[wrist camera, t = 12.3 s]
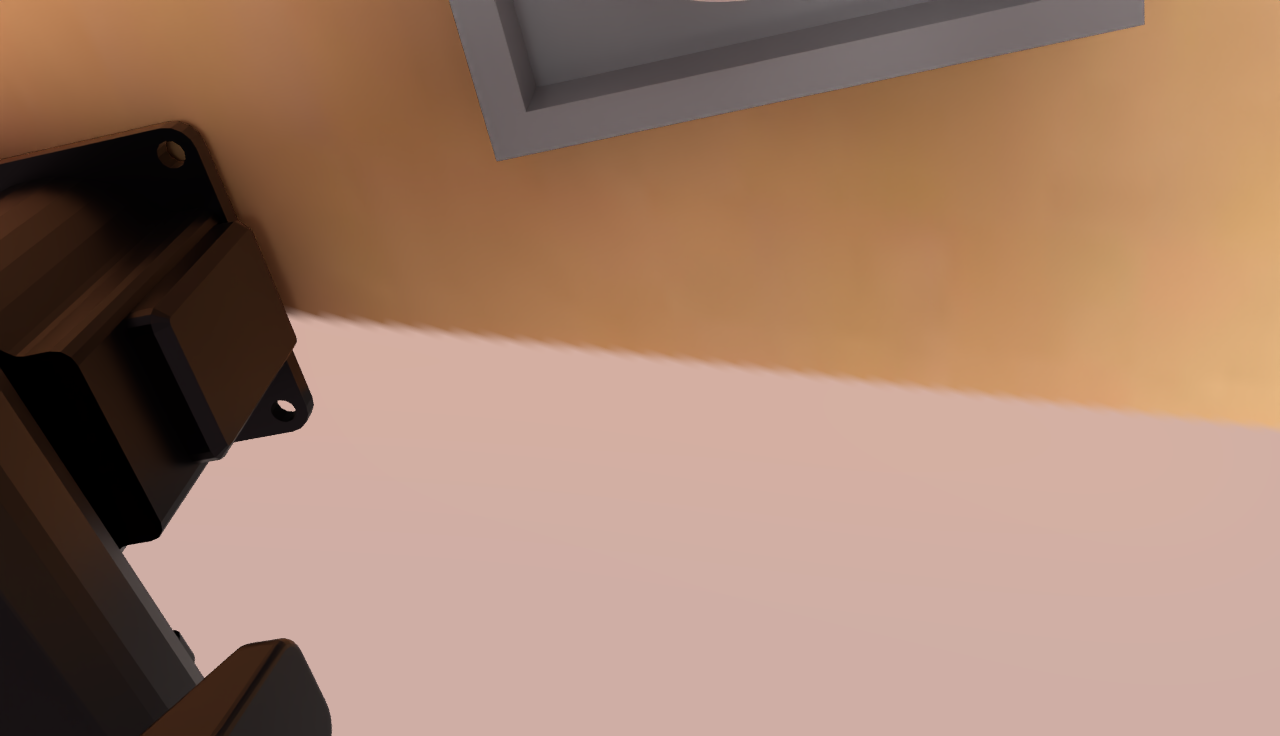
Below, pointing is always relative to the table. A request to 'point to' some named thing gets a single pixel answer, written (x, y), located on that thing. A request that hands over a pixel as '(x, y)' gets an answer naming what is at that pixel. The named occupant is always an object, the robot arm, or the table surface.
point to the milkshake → (718, 0)
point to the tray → (725, 54)
